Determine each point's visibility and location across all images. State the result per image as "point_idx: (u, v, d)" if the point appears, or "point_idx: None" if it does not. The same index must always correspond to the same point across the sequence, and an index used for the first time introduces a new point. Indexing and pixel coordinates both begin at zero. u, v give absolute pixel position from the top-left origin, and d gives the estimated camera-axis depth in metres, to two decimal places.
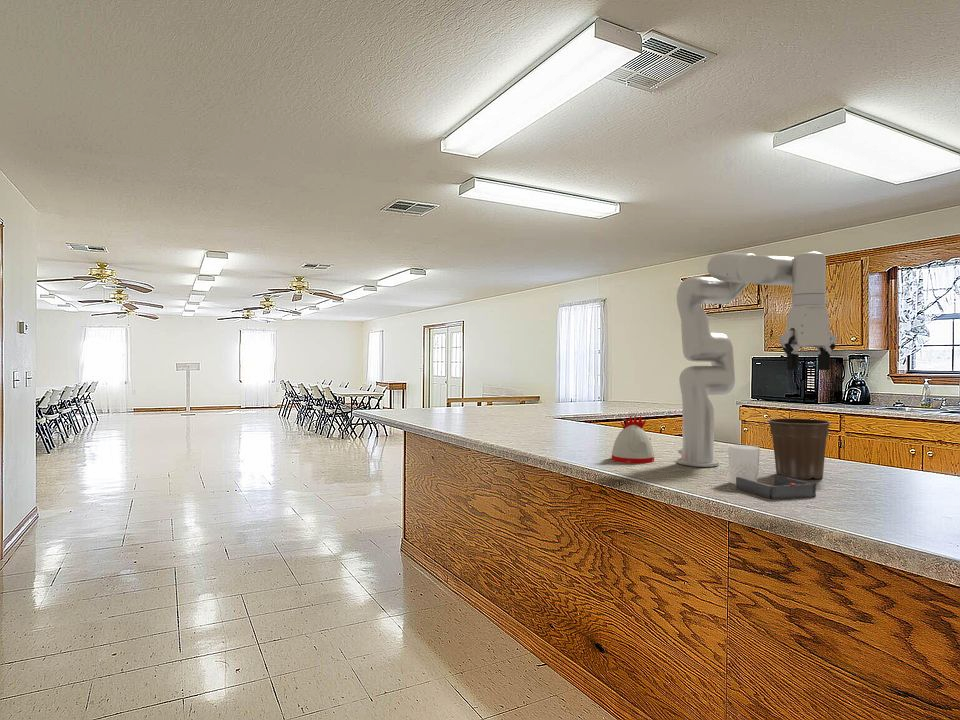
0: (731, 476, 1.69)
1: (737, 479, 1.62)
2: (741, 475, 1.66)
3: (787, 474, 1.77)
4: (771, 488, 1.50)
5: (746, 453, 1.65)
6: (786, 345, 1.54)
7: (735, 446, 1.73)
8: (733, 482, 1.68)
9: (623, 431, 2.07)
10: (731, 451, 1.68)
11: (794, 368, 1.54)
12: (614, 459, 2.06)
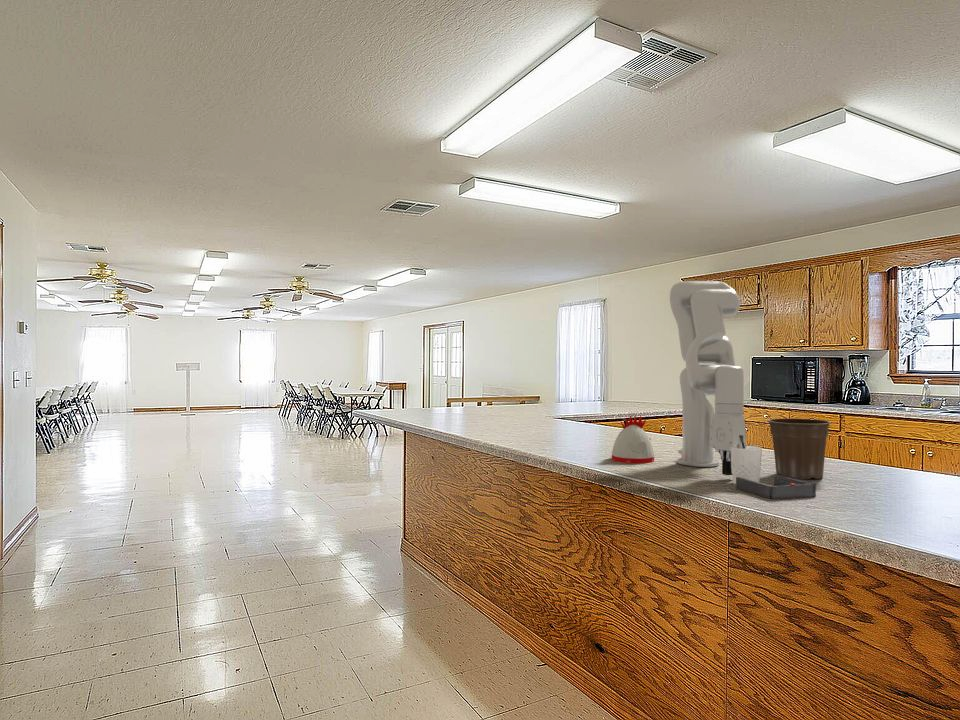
0: (733, 476, 1.68)
1: (737, 479, 1.62)
2: (743, 475, 1.65)
3: (787, 474, 1.77)
4: (771, 488, 1.50)
5: (748, 454, 1.65)
6: None
7: None
8: (735, 482, 1.67)
9: (623, 431, 2.07)
10: (733, 451, 1.67)
11: None
12: (614, 459, 2.06)
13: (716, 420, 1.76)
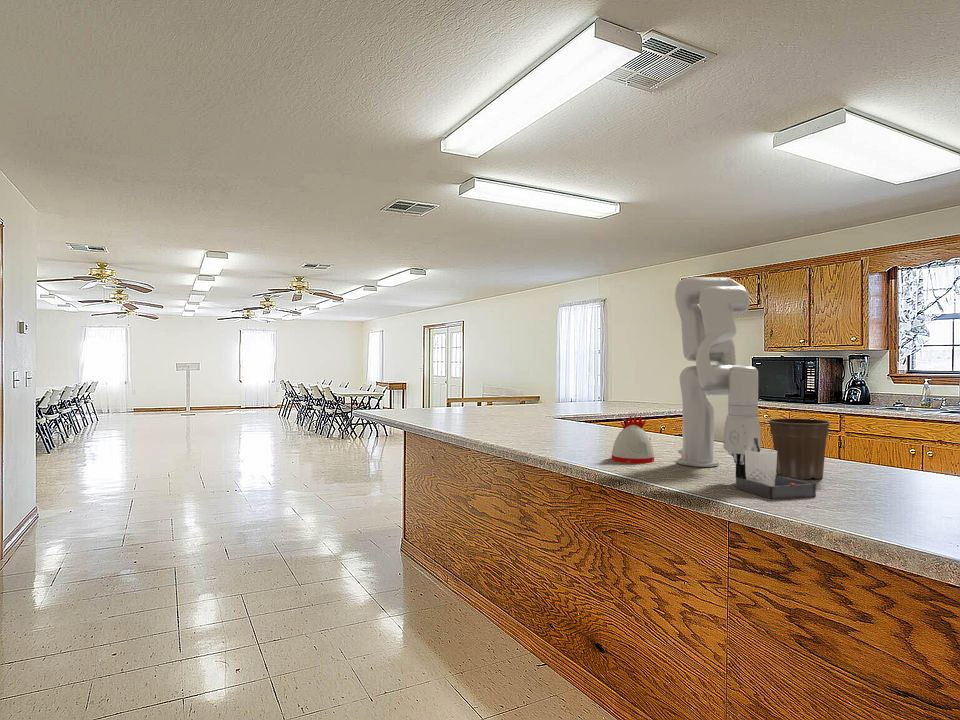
0: None
1: (737, 479, 1.62)
2: (758, 479, 1.60)
3: (787, 474, 1.77)
4: (771, 488, 1.50)
5: (763, 457, 1.59)
6: None
7: None
8: None
9: (623, 431, 2.07)
10: (747, 454, 1.62)
11: None
12: (614, 459, 2.06)
13: (730, 422, 1.70)
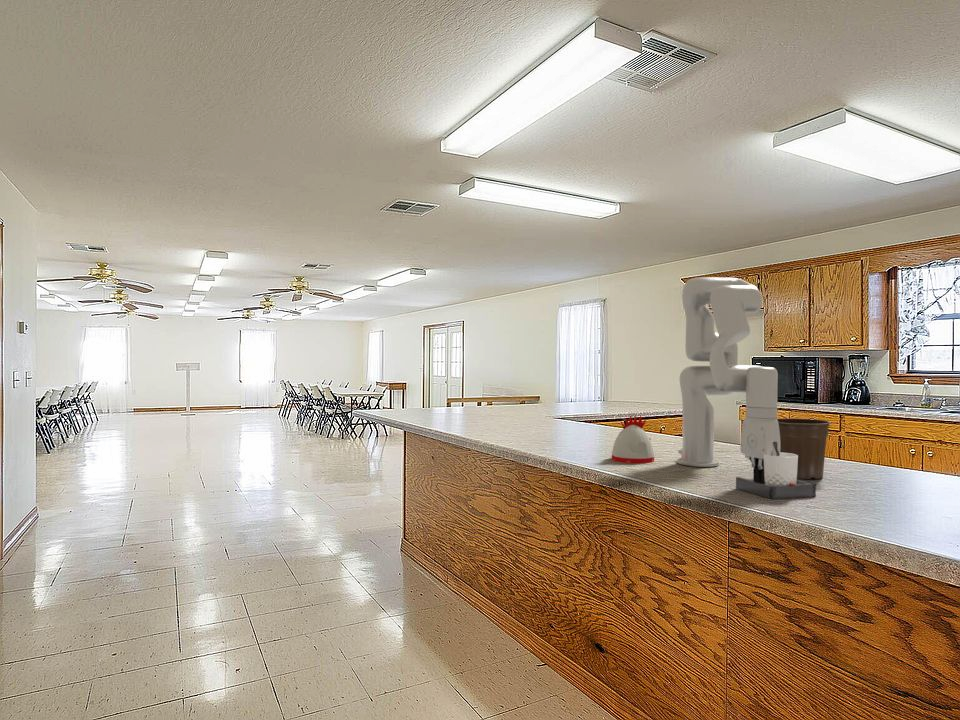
0: None
1: (737, 479, 1.62)
2: (778, 485, 1.53)
3: None
4: (771, 488, 1.50)
5: (783, 462, 1.53)
6: None
7: None
8: None
9: (623, 431, 2.07)
10: (767, 459, 1.55)
11: None
12: (614, 459, 2.06)
13: (747, 425, 1.64)
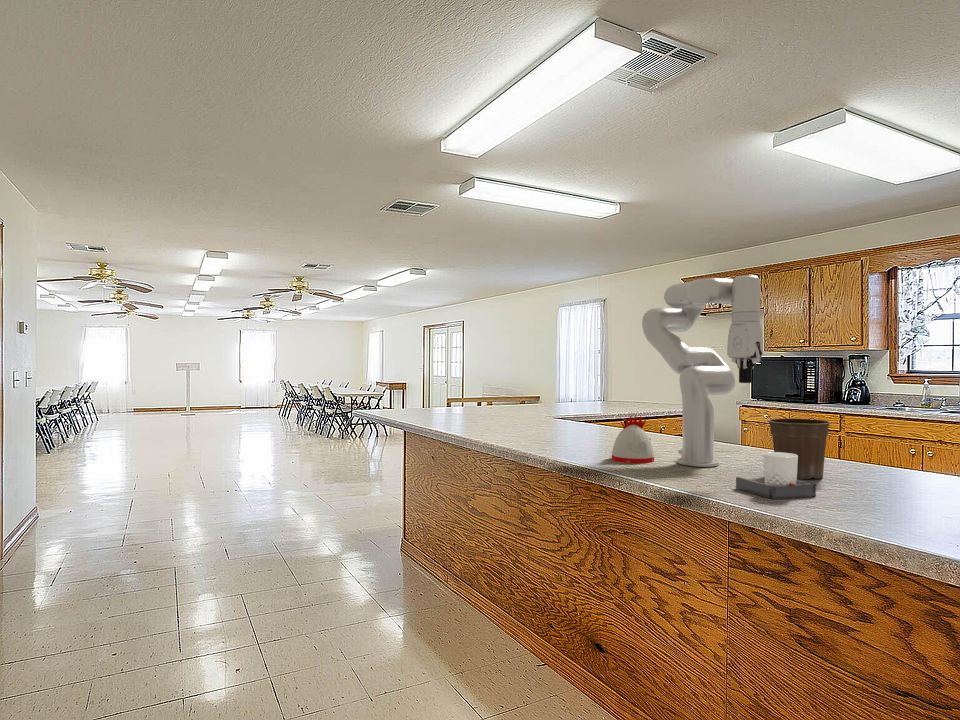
0: None
1: (737, 479, 1.62)
2: (778, 485, 1.53)
3: None
4: (771, 488, 1.50)
5: (783, 462, 1.53)
6: None
7: (770, 453, 1.60)
8: None
9: (623, 431, 2.07)
10: (767, 459, 1.55)
11: (749, 381, 1.78)
12: (614, 459, 2.06)
13: (733, 330, 1.79)
